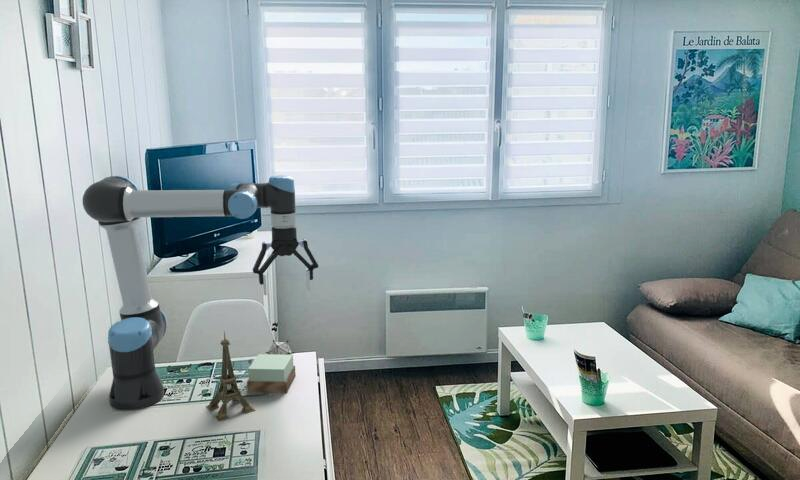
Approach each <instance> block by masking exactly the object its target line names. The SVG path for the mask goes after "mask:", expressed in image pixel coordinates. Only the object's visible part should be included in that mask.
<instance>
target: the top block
mask: <svg viewBox="0 0 800 480" xmlns="http://www.w3.org/2000/svg"><path fill="white" fill-rule="evenodd" d="M294 366H295V365H294V355H293V354H291V355H274V354H268V353H267V354H266V353H265V354H262V353H258V354H257V356H256V357H255V359H254V360H253V361H252V363H251V364H250V365H249V367H248V370H247V372H248V379H249V381H269V382H285V381H286V379H287V377H288V375H289V374H290V372H291V370H292V368H293V367H294Z"/></svg>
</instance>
